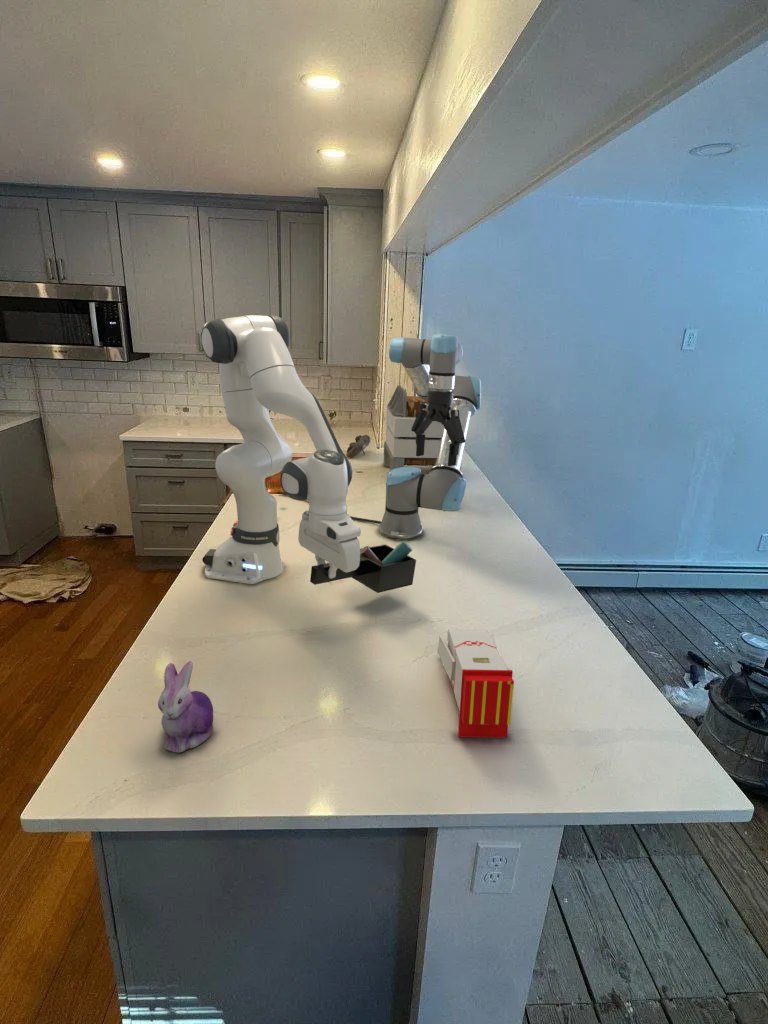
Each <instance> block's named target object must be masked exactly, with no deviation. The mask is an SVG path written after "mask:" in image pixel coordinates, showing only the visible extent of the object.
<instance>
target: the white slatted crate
mask: <svg viewBox="0 0 768 1024" xmlns="http://www.w3.org/2000/svg"><path fill="white" fill-rule="evenodd" d="M407 394H408V393H407V390H406V389H404V388H403V387H402V385H399V384H398V385H397V386H396V388H395V390H394V392H393V394H392V395H391V398H390V400H389V402H388V404H387V405H386V413H385V414H386V415H385V423H386V428H385V438H384V442H383V466H384V467H388V468H389V472H390V471H391V470H393V469H396V468H401V467H405V466H406V467H417V466H418V467H434V466H435V465H436V460H437V456H438V451H439V446H440V442H441V437H442V432H443V428H444V425H442V424H441V422H440V423H439V422H437V421H433V422H432V423H431V424H430V425H429V427H428V428H427V429H426V430H425V432H424V435H425V446H424V455H422V456H416V448H417V445H416V434H415V432H414V431H413V432H412V430H411V429H412V426H413V424H414V422H415V420H416V417H417V415H418V413H419V411H420V405H421V403H428V402H426V401H424V400H423V399H421V398H420V397H419V396H418V395H416V396H415V395H414V396H413V395H412V396H411V395H407ZM428 404H429V403H428ZM428 413H429V412H427V414H426V416H427V415H428ZM424 420H425V419H424ZM422 435H423V434H422ZM462 461H463V460H462ZM462 461H461V463H462ZM460 471H461V472H462V465H461V466H460Z"/></svg>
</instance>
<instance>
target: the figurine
mask: <svg viewBox="0 0 768 1024" xmlns="http://www.w3.org/2000/svg"><path fill="white" fill-rule="evenodd" d="M193 669H194V662H193V661H191V660H190V661H188V662H186V663H185V664H184V665H183V667H182V668H181V669H180V671H179V672H178V671H177V668H176V666H175V664H174V663H173V662H169V663H168V664H167V665H166V666H165V670H164V672H163V684H164V687H163V690H162V691H161V693H160V695H159V698H158V702H157V706H158V709H159V711H160V712H161V713H162V717H161V726H162V729H163V731H164V734H165V740H164V749H165V750H166V751H169V752H172V753H183V752H184V751H186V750H188V749H194V748H196V747H198V746H200V745H201V744H203V743H204V742H205V741H206V740H207V739H208V738H209V737H211V736H212V733H213V725H214V724H213V723H214V706H213V703H212V701H211V698H210V697H209V696H208V695H207V694H206V693H205V692H203V691H200V690H192V691H191V690H190V688H189V684H190V681H191V679H192V674H193Z"/></svg>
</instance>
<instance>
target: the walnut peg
mask: <svg viewBox="0 0 768 1024" xmlns="http://www.w3.org/2000/svg"><path fill="white" fill-rule="evenodd" d="M369 547H370V546H369V545H366V546H363V547H362V548H360V549H361V550H360V554H361V555H363V556H365V557H367V558H368V559H370V560H372V561H374V562H376V563H378V564H379V565H381V566H383V564H382V562H381V561H380V560H379V559H378V558H377V556H376V555H375V554H374V553H373V552H372V550H371V549H370V548H369Z"/></svg>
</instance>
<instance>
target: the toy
mask: <svg viewBox="0 0 768 1024" xmlns="http://www.w3.org/2000/svg"><path fill="white" fill-rule="evenodd" d="M446 640H447V643H446V641H445V639H444V636H443V635H442V634H439V637H438V646H437V656H438V657H439V659H440V661H441V663H442V666H443V668H444V670H445V672H446V674H447V677H448V679H449V681H450V684H451V687H452V690H453V693H454V697H455V701H456V705H457V708H458V711H459V714H458V715H459V716H458V730H457V731H458V732H457V737H458V738H508V731H509V726H510V725H511V717H512V707H513V697H514V696H513V695H514V684H515V680H514V679H513V673H514V671H513V670H512V669H508V667H507V665H506V662H505V661H504V659H503V658H502V655H501V653H500V651H499V649H498V647H497V643H496V639H495V637H494V635H493V634H491V632H490V631H489V629H467V628H466V629H465V628H463V629H461V628H460V629H459V628H448V630H447V639H446Z"/></svg>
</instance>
